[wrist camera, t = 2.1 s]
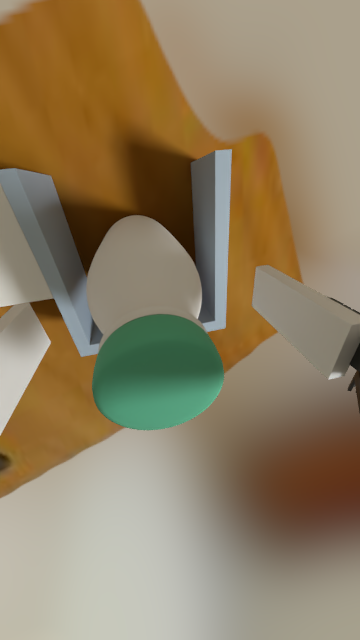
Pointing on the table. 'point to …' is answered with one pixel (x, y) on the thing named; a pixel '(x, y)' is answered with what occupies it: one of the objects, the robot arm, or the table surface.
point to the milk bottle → (149, 329)
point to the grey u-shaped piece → (64, 262)
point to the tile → (17, 262)
